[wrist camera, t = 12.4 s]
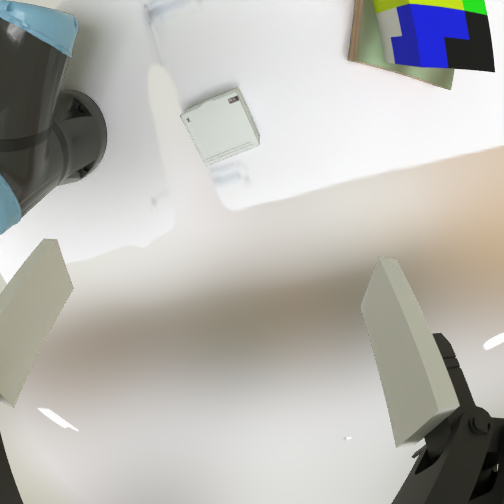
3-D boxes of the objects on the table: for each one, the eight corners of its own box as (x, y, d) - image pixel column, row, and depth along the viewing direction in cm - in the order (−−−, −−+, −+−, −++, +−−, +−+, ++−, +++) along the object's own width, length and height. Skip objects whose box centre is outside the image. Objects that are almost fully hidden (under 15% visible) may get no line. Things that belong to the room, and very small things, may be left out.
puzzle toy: (385, 62, 31) (420, 67, 22) (370, -10, 25) (401, -27, 17) (450, 63, 29) (494, 72, 21) (438, -5, 23) (481, -13, 15)
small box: (210, 155, 44) (204, 167, 39) (187, 108, 40) (178, 114, 35) (261, 136, 42) (260, 146, 38) (239, 85, 38) (236, 89, 34)
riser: (348, 60, 34) (356, 60, 31) (357, -28, 26) (367, -35, 23) (436, 85, 35) (450, 90, 31) (446, 4, 27) (461, 2, 23)
